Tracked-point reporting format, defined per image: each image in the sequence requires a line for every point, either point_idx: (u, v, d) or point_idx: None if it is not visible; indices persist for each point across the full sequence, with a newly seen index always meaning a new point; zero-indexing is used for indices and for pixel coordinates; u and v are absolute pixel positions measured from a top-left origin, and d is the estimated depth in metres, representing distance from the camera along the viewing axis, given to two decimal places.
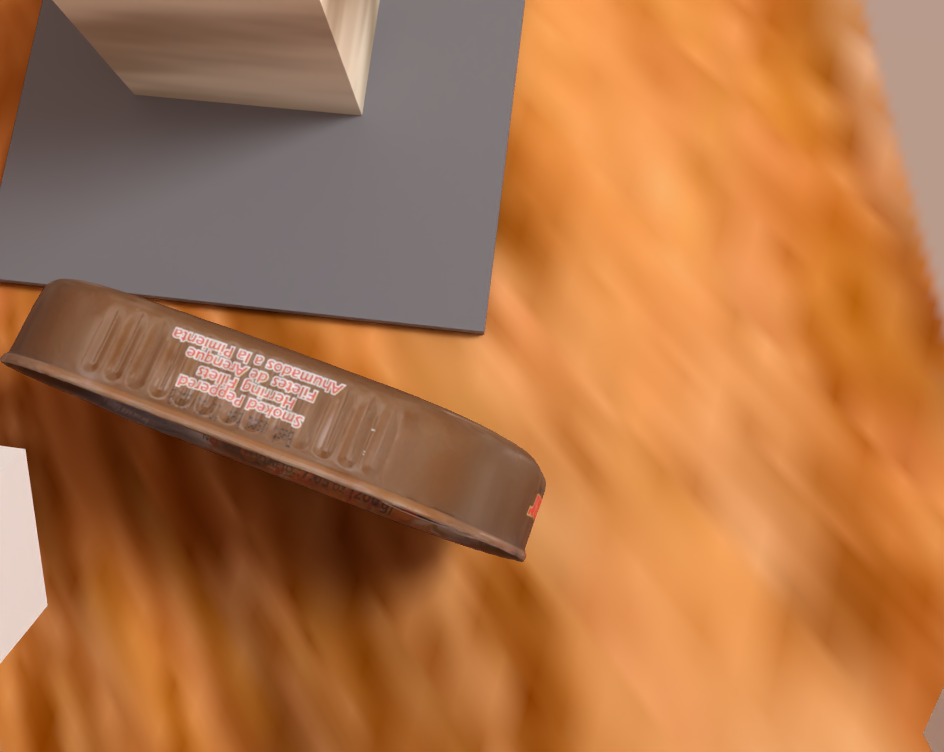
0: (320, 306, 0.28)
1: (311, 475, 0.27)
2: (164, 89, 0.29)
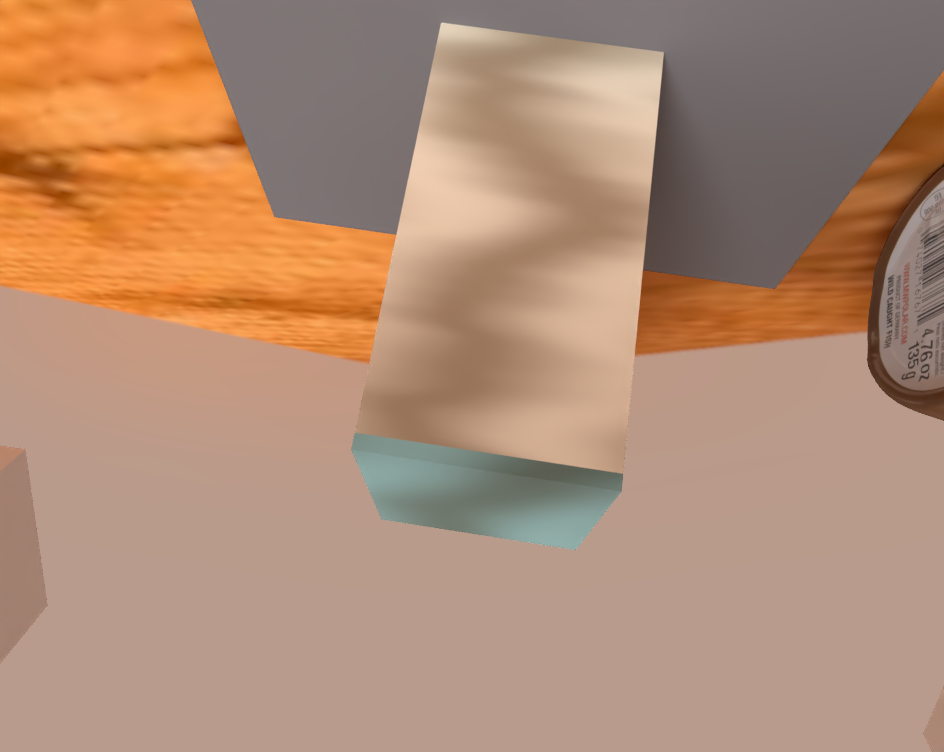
0: (913, 96, 0.23)
1: None
2: None
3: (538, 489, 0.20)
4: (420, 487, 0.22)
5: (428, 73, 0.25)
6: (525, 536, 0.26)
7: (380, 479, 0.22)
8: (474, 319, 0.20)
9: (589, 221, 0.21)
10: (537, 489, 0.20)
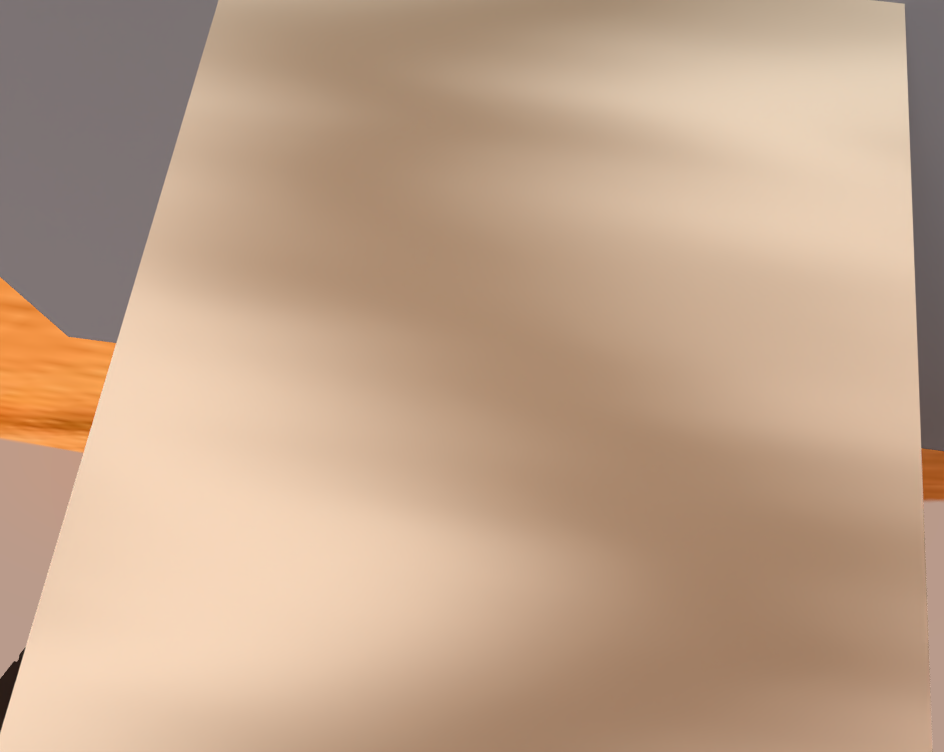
0: None
1: None
2: None
3: None
4: None
5: None
6: None
7: None
8: None
9: (717, 611, 0.06)
10: None
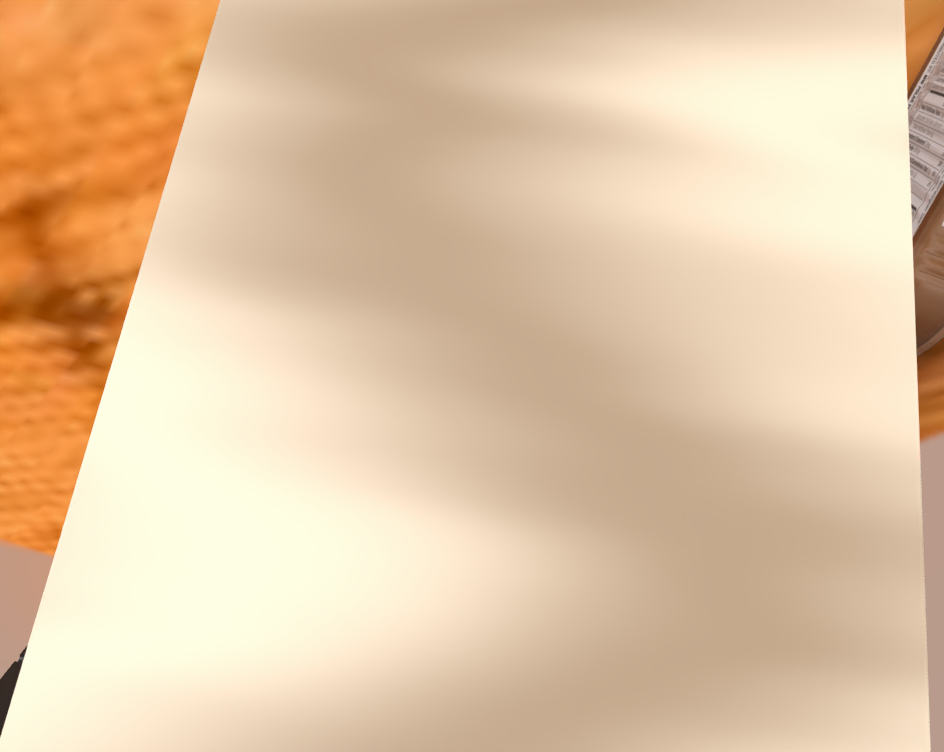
0: None
1: None
2: None
3: None
4: None
5: None
6: None
7: None
8: None
9: (717, 602, 0.06)
10: None
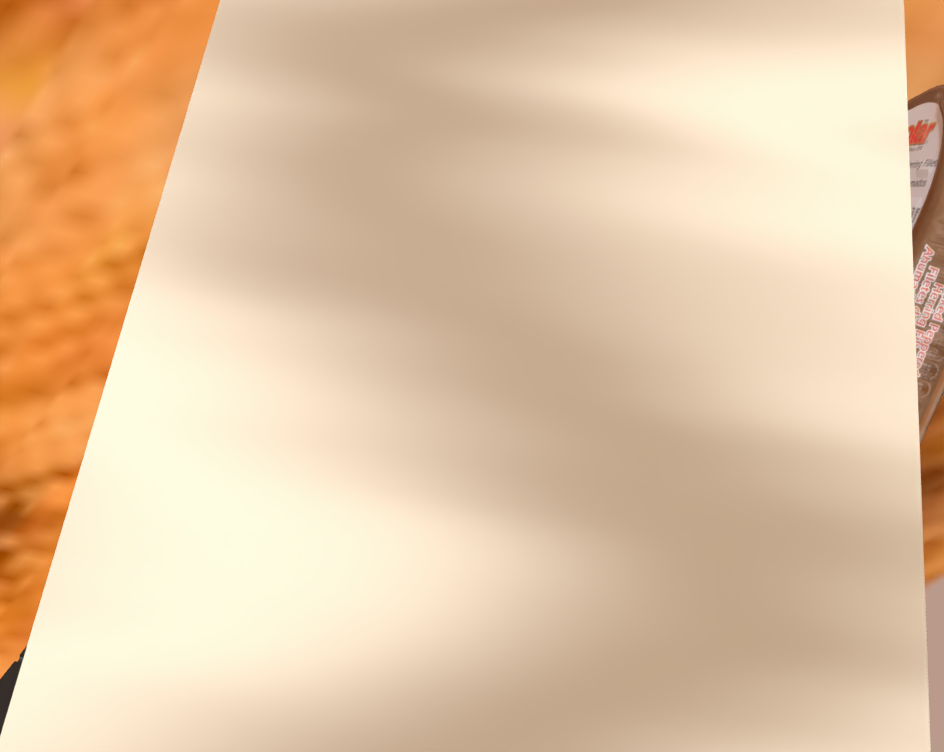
0: None
1: None
2: None
3: None
4: None
5: None
6: None
7: None
8: None
9: (716, 602, 0.06)
10: None
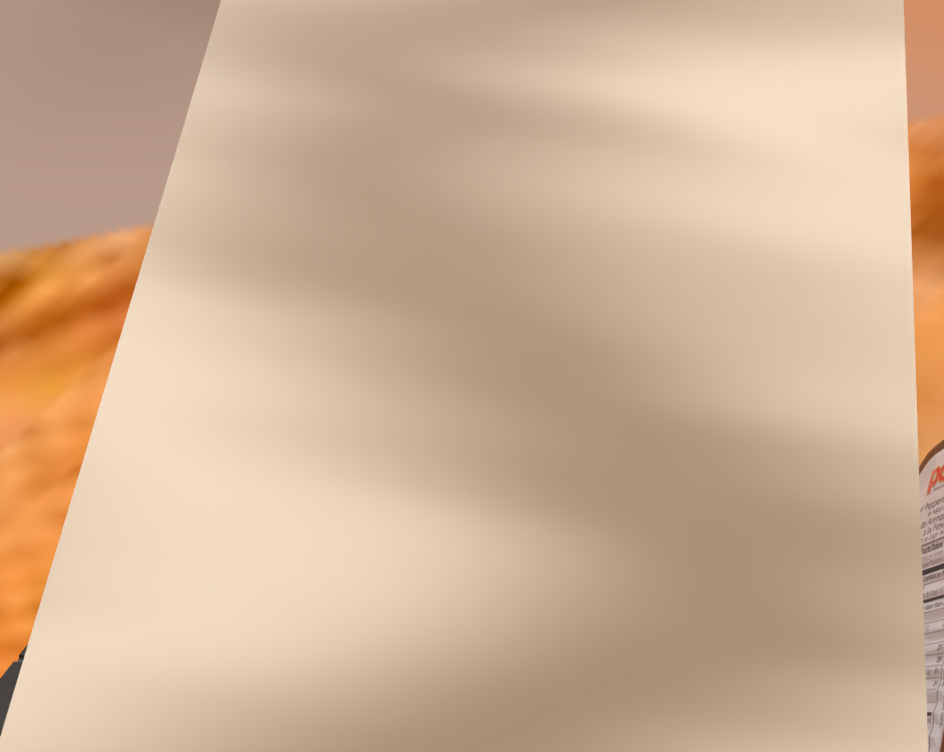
0: None
1: None
2: None
3: None
4: None
5: None
6: None
7: None
8: None
9: (716, 595, 0.06)
10: None
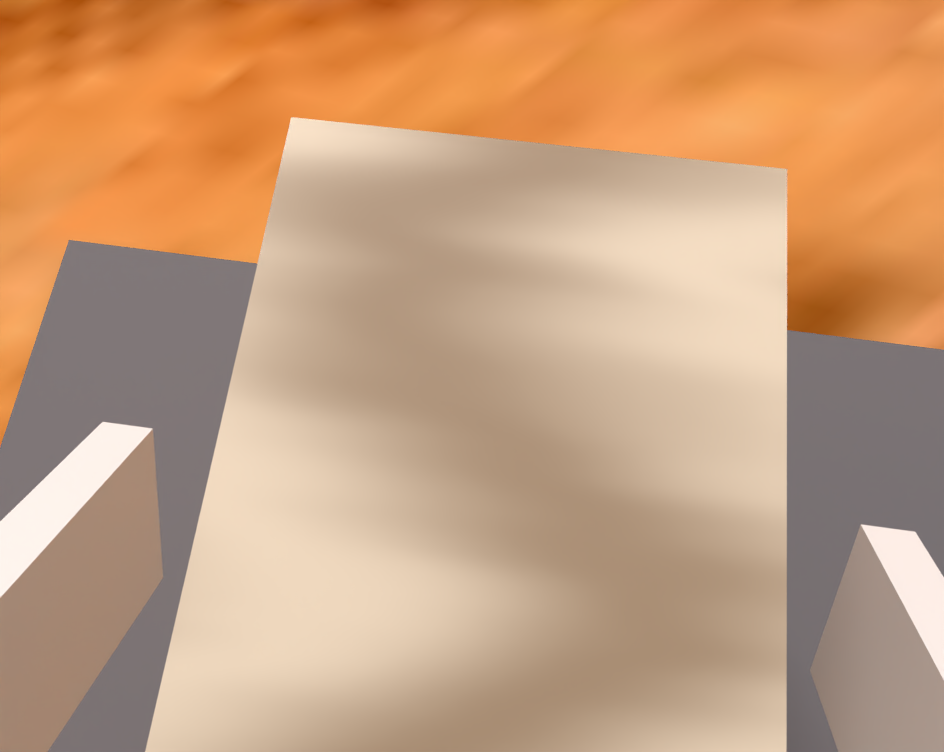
0: None
1: None
2: None
3: None
4: None
5: None
6: None
7: None
8: None
9: (642, 623, 0.09)
10: None
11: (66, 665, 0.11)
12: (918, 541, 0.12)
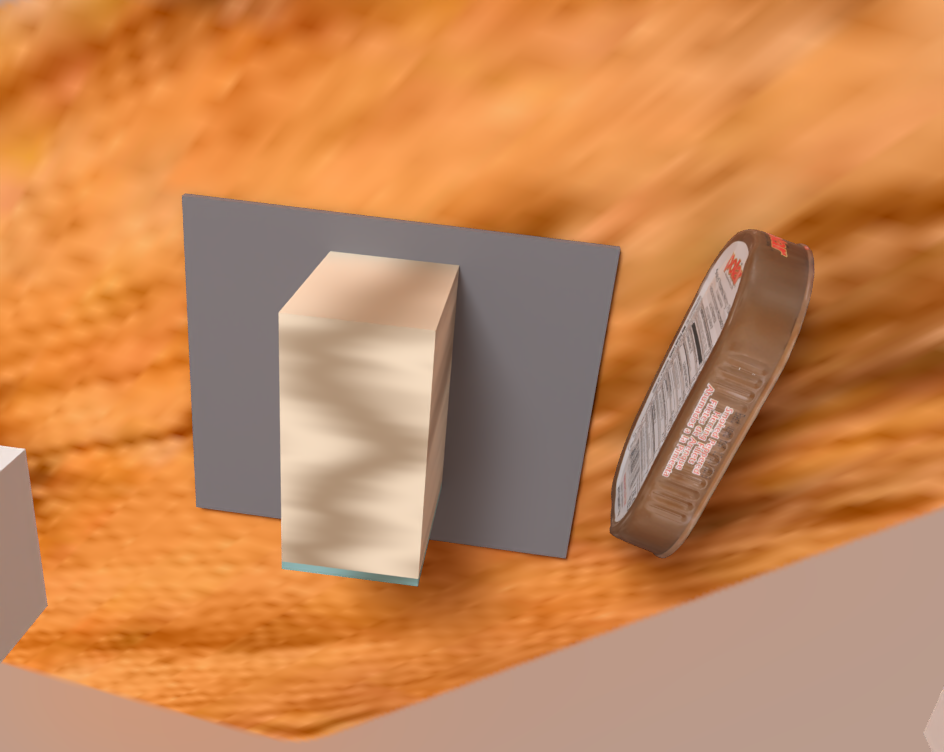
0: (595, 358, 0.41)
1: None
2: (454, 287, 0.39)
3: None
4: None
5: None
6: None
7: None
8: (332, 506, 0.36)
9: (392, 451, 0.35)
10: None
11: None
12: None
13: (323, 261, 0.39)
